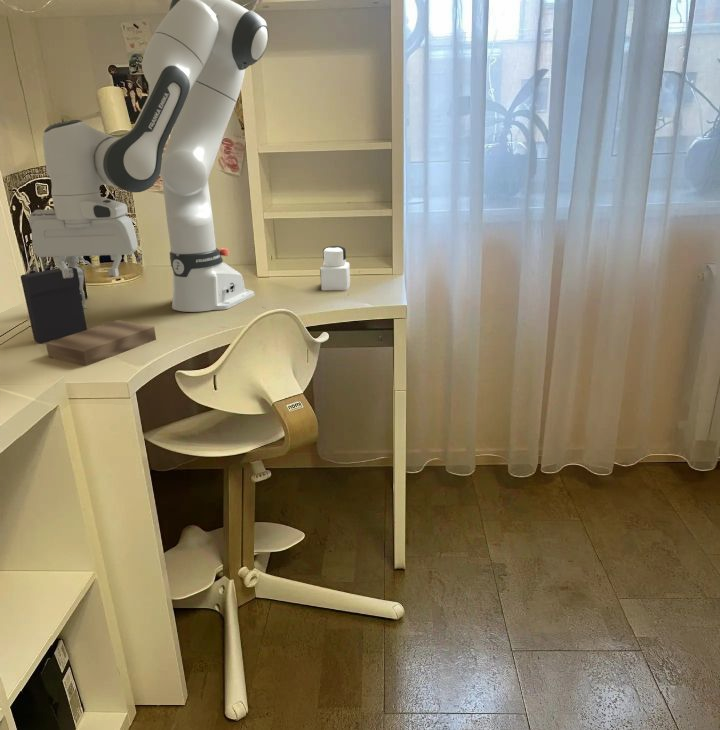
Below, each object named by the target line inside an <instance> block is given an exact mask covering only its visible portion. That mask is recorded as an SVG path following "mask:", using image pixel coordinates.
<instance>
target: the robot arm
mask: <svg viewBox="0 0 720 730" xmlns="http://www.w3.org/2000/svg"><path fill="white" fill-rule="evenodd" d="M269 35H270V34H269V28H268V25H267V22H266V19H264V18H263V17H262V16H261V15H259V14H258V13H256V12H255V11H253V10H248V9H247V8H245V7H244V6H242V5H240V4H239V3H237V2H235V1H233V0H171V2H170V4H169V11H168V12H167V14H166V15H165V17H163V19H162V21H161V22H160V23H159V25H158V26H157V28H156V29H155V31H154V33H153V34H152V37H151V38H150V40H149V42H148V44H147V46H146V49H145V52H144V54H143V57H142V60H141V70H142V73H143V75H144V78H145V80H146V82H147V83H148V84H149V92H148V95H147V98H146V100H145V102H144V104H143V106H142V108H141V111H140V112H139V114H138V117H137V119H136V121H135V123H134V124H133V126H132V128H131V129H130V130H129V131H128V132H127V133H125V134H124V135H123V136H121V137H120V136H114V135H111V134H108V133H106V132H103V131H101V130H98V129H97V128H94V127H92V126H90V125H89V124H87V123H86V122H85V121H83V120H81V119H71V120H65V121H60V122H57V123H53V124H50V125H48V126H47V127H46V128H45V130H44V131H43V135H42V148H43V158H44V162H45V167H46V172H47V175H48V177H49V178H50V182H51V198H52V204H53V208H52V209H35V210H34V211H32V212H31V213H30V214H29V216H28V222H29V226H30V229H31V240H32V249H33V253H34V254H35V255H36V256H37V257H38V258H53V262H54V264H55V265H56V266H57V268H60V270H62V274H63V278H72V277H73V276H74V274H73V269H72V268H68V267H69V266H68V265H67V263H66V264H65V263H64V260H65V257H66V256H81V257H86V256H88V257H89V256H90V257H93V256H110V260H111V261H113V263H112V266H111V267H109V268H107V273H108V277H109V278H116V277H119V275H120V272H119V267H120V264H121V261H122V259H123V257H122V256H123V255H124V256H126V255H131V254H134V253H135V252H136V251H137V249H138V248H139V247H138V246H139V243H138V239H137V234H136V231H135V227H134V224H133V221H132V219H131V218H130V217H129V216H127V215H126V214H128V206H127V204H126V203H125V202H121V201H117V200H114V199H111V198H106V197H104V196H101V190H100V187H101V186H102V185H106V186H110V187H114V188H118V189H121V190H123V191H125V192H129V193H141V192H145V191H148V190H149V189H151V188H152V187H153V186H154V185H155V184H156V182H157V181H158V179H159V178H160V179H161V182H162V191H163V198H164V206H165V217H166V223H167V224H166V225H167V230H168V238H169V245H170V252H169V260H170V266H171V269H172V287H173V288H172V289H173V290H172V302H171V303H172V304H171V308H172V309H173V310H174V311H177V312H186V313H187V312H189V313H197V312H208V311H214V310H215V311H220V310H228V309H231V308H233V307H234V306H237V305H239V304H240V303H243V302H245V301H246V300H249V299H250V298H252V297H254V296H256V294H255V291H254V290H252V289H248V288H246V287H245V281H244V278H243V275H242V274H241V273H240V271H237V270H236V269H234V268H233V267H231V266H230V265H228V264H227V263H226V262H224V259H223V257H229V254H230V251H229V249H228V248H227V247H226V248H223V247H220V248H219V249H218V247H217V242H216V234H215V224H214V216H213V210H212V209H213V208H212V202H211V194H210V187H209V179H210V176H211V172H212V169H213V166H214V165H215V161H216V158H217V155H218V152H219V149H220V147H221V144H222V142H223V141H222V140H223V139H224V135H225V132H226V130H227V127H228V126H229V125H228V124H229V122H230V119H231V117H232V115H233V112H234V109H235V107H236V104H237V102H238V98H239V96H240V93H241V90H242V86H243V83H244V78H245V74H246V69H247V68H249V67H250V66H252V65H254V64H256V63H257V62H258V61H259V60H260V59H261V58H262V57H263V55H264V54H265V52H266V49H267V47H268V42H269ZM166 144H167V145H166Z"/></svg>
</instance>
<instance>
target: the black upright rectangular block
mask: <svg viewBox="0 0 720 730" xmlns="http://www.w3.org/2000/svg"><path fill="white" fill-rule="evenodd" d="M67 267H68V268H72V269H73V274H74V276H73V277H72V278H63V274H62V270H60V268H59V267H57V268H53V269H52V268H51V269H46V270H41V271H36V272H31V273H25V274H21V275H20V281H21V285H22V290H23V295H24V299H25V300H24V301H25V303H26V309H27V313H28V317H29V318H28V319H29V322H30V326H31V327H30V328H31V331H32V336H33V340H34V342H37V343H39V344H44V343H45V344H46V343H47V342H50V341H54V340H57V339H60V338H63V337H66V336H69V335H72V334H75V333H78V332H81V331H85V330H88V327H87V321H86V317H85V311H84V310H85V309H84V308H83V301H82V295H81V293H80V289H79V287H80V282H79V277H78V272H77V269H76V268H73V267H70V266H67Z"/></svg>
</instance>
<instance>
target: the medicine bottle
mask: <svg viewBox="0 0 720 730" xmlns="http://www.w3.org/2000/svg"><path fill="white" fill-rule="evenodd" d="M346 252H347V251H346V248H345V247H343V246H341V245H340V246H339V245H330V246H327V247H324V248H323V250H322V259H323V260H322V261H323V264H322V265H321V267H319V271H320V273H319V275H320V276H319V277H320V290H321V291H348V290H349V288H350V285H351V271H350V270H351V269H350V268H351V266H350V262H347V255H346Z"/></svg>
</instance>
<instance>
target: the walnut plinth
mask: <svg viewBox="0 0 720 730" xmlns="http://www.w3.org/2000/svg"><path fill="white" fill-rule="evenodd" d="M156 336H157V335H156V329H155V326H153V325H147V324H141V323H135V322H131V321H125V320H119V319H116V320H114V321H113V320H112V321H110V322H107V323H104V324H100V325H97V326H95V327H91V328H87V330H85V331H81V332H78V333H75V334H72V335H69V336H66V337H63V338H60V339H57V340H53V341H49V342H46V343H45V347H46V349H47V350H46V351H47V354H48V357H49V358H53V359H56V360H61V361H64V362H69V363H74V364H77V365H80V366H85V367H87V366H89V365H92V364H95V363H98V362H100V361H104V360H106V359H109V358H111V357H114V356H116V355H119V354H121V353H125V352H127V351H130V350H132V349H136V348H138V347H140V346H144V345H145V344H148V343H150V342H153V341H157V337H156Z"/></svg>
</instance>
